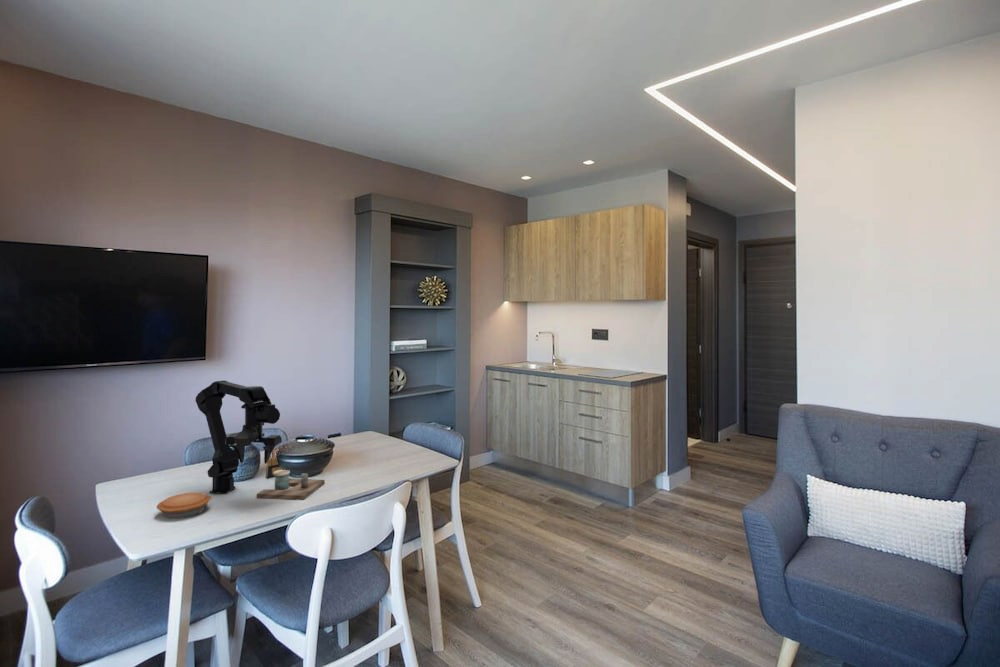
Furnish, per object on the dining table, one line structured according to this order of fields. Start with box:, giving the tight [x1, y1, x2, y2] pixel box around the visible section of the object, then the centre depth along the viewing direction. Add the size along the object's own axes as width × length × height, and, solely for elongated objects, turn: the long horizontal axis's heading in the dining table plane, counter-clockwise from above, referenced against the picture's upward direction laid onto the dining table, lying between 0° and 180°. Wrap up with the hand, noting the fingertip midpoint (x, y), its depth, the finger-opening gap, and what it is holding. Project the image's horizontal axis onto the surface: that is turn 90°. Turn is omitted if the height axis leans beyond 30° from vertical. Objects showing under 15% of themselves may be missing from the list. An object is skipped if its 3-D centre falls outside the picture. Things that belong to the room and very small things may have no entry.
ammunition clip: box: [265, 445, 292, 479], centre depth 207 cm, size 11×2×12 cm, turn 136°
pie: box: [156, 492, 212, 519], centre depth 167 cm, size 16×16×5 cm
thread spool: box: [273, 469, 291, 490], centre depth 189 cm, size 6×6×7 cm
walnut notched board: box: [255, 472, 326, 501], centre depth 189 cm, size 18×18×6 cm
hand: (253, 463), depth 180 cm, fingers open, 9 cm apart
